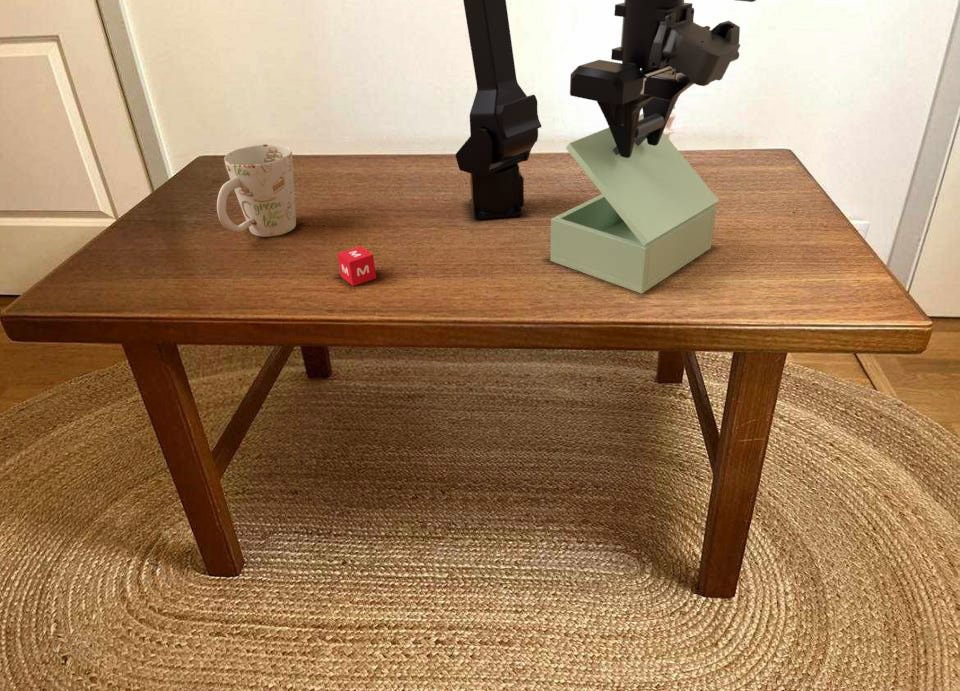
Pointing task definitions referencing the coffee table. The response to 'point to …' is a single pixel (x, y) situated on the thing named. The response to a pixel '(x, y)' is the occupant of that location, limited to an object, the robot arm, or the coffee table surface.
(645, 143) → the lid
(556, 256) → the chest
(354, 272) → the red letter cube
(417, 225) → the coffee table surface
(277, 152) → the mug
